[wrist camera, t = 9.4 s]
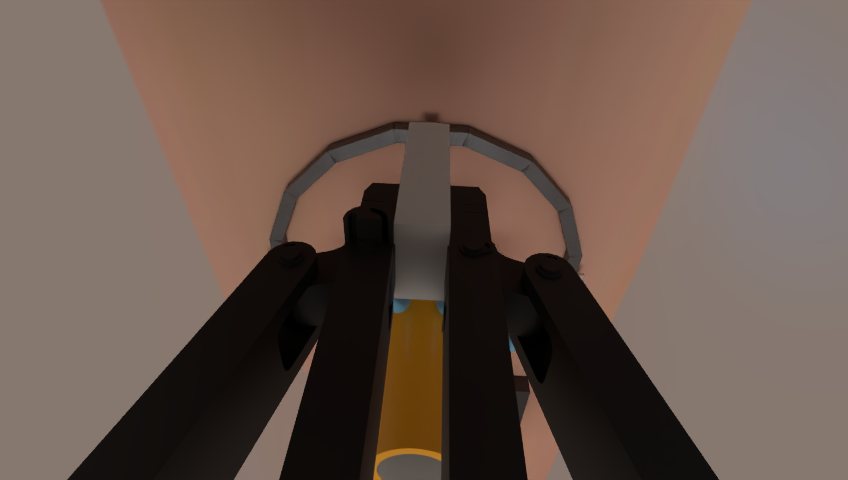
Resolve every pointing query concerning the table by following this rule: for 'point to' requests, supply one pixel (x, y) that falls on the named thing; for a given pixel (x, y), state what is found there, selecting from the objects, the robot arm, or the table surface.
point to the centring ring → (457, 138)
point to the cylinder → (413, 394)
